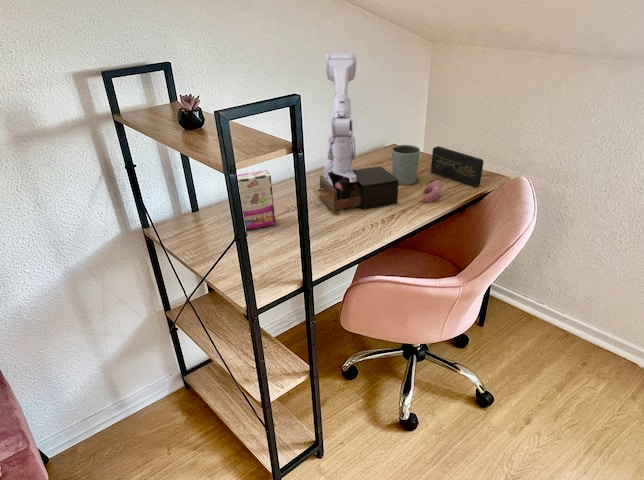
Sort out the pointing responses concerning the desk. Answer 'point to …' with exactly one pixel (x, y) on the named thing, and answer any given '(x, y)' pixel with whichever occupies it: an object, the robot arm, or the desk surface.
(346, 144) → the robot arm
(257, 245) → the desk surface
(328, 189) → the drawer
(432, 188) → the pink curved piece
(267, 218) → the candy bar box
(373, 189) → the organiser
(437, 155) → the nameplate
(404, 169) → the green cup
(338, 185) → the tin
